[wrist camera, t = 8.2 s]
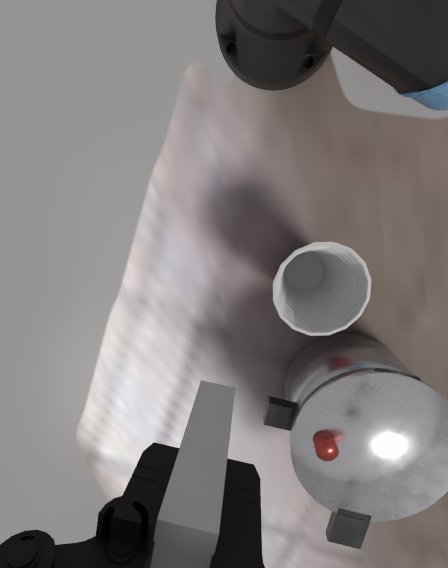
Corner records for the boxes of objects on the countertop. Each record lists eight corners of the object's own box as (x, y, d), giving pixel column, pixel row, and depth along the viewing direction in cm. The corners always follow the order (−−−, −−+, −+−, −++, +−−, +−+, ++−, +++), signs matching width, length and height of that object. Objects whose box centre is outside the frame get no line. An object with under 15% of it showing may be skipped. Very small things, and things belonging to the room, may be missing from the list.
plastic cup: (314, 321, 48) (333, 356, 37) (253, 282, 48) (253, 304, 36) (359, 261, 46) (395, 277, 34) (295, 219, 45) (310, 221, 34)
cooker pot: (276, 317, 49) (283, 349, 37) (444, 352, 47) (507, 397, 36) (251, 420, 53) (251, 479, 41) (406, 455, 51) (450, 526, 40)
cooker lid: (311, 351, 37) (317, 365, 33) (481, 388, 36) (506, 406, 32) (266, 515, 41) (268, 542, 38) (416, 551, 40) (431, 582, 37)
